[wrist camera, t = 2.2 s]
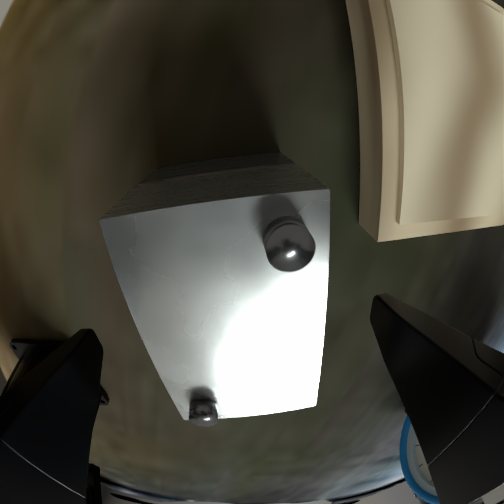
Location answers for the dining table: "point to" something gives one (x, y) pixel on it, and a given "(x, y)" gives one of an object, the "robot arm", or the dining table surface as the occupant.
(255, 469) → the dining table surface
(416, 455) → the alarm clock
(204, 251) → the box
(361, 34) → the beige tray
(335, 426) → the dining table surface
